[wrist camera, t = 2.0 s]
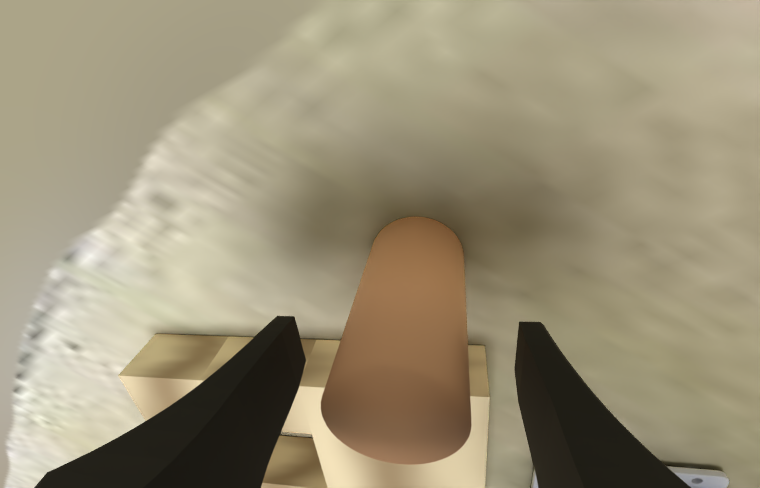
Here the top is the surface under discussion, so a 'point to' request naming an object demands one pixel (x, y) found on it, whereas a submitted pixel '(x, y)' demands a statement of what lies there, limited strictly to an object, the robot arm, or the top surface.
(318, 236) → the top surface
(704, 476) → the robot arm
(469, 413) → the peg
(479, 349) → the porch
